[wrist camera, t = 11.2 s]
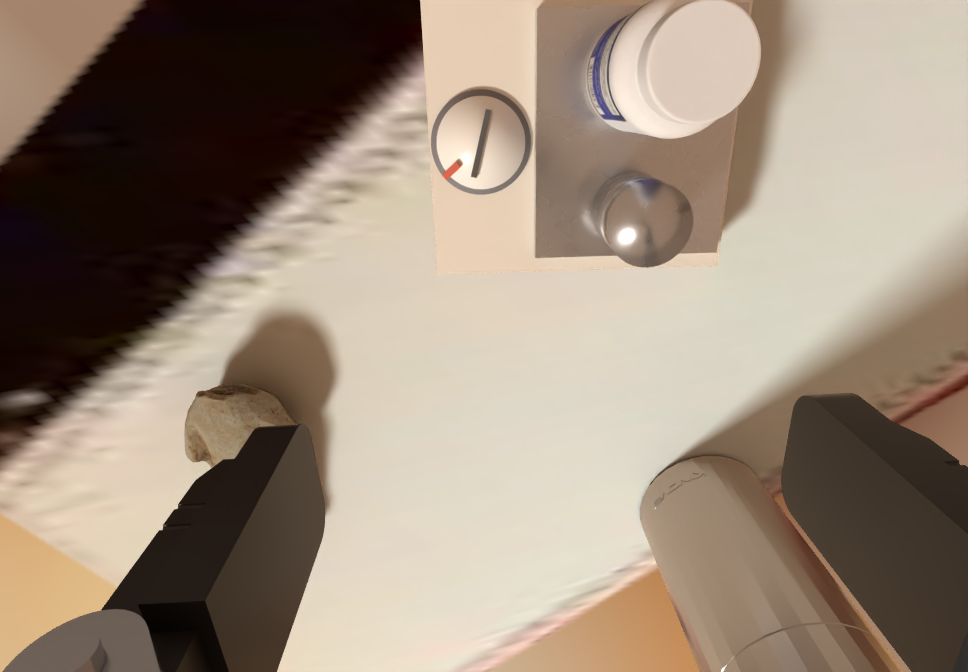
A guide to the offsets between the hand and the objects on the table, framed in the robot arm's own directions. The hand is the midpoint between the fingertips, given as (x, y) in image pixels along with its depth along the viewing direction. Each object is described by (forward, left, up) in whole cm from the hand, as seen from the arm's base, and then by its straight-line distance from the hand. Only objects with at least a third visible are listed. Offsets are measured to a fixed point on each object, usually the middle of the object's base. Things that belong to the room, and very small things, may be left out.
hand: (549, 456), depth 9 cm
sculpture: (-3, +24, -27) cm, 36 cm away
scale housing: (0, -6, -26) cm, 27 cm away
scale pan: (-2, -8, -23) cm, 24 cm away
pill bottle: (0, -9, -23) cm, 25 cm away
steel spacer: (-5, -5, -22) cm, 23 cm away
